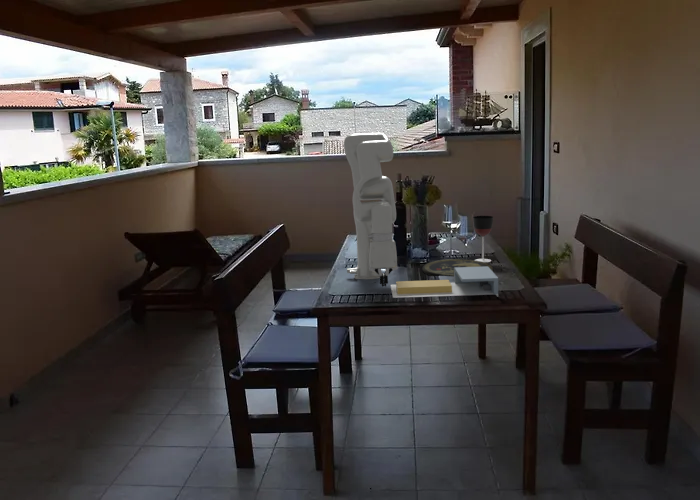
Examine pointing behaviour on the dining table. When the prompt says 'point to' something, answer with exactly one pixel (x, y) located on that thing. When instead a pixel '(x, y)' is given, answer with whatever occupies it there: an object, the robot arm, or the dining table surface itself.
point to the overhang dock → (464, 283)
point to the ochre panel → (423, 286)
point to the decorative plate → (450, 266)
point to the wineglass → (483, 230)
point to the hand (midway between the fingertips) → (384, 285)
